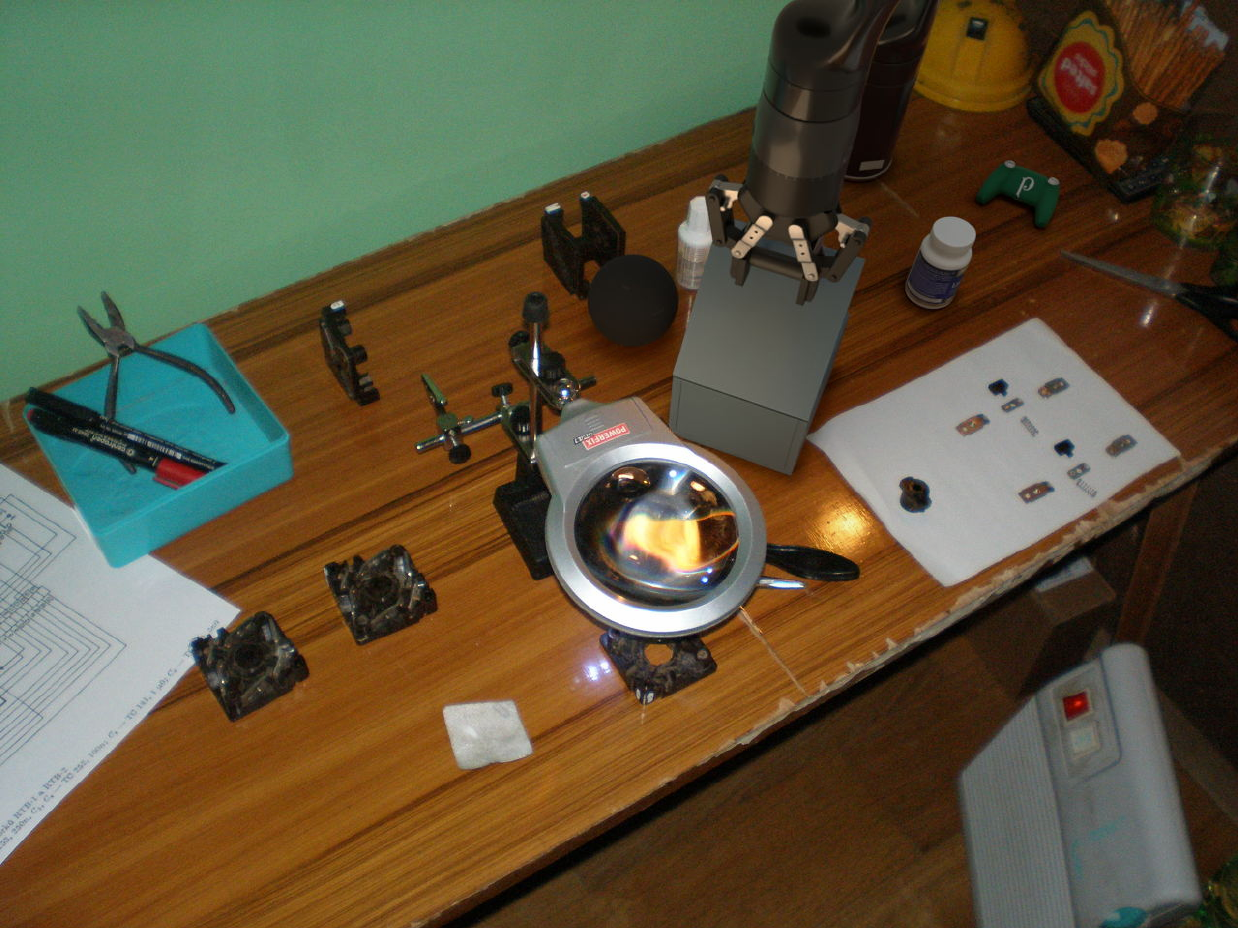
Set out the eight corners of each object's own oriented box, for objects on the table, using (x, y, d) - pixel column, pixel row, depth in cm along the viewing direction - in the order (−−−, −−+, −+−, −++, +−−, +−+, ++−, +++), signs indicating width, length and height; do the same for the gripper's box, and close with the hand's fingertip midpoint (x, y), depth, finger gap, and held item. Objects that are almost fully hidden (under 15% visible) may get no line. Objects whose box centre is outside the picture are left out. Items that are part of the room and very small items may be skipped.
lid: (721, 215, 91) (710, 216, 86) (865, 259, 88) (862, 263, 84) (674, 373, 96) (661, 383, 91) (809, 419, 93) (802, 431, 89)
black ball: (662, 374, 109) (667, 315, 100) (576, 352, 110) (574, 292, 102) (685, 308, 114) (692, 246, 105) (603, 288, 115) (603, 226, 107)
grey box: (714, 333, 112) (723, 273, 103) (831, 371, 109) (850, 313, 101) (667, 432, 105) (673, 377, 96) (791, 476, 102) (807, 423, 93)
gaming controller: (1043, 231, 123) (1068, 186, 122) (1044, 228, 120) (1070, 181, 118) (974, 203, 126) (998, 158, 124) (973, 199, 122) (997, 153, 121)
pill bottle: (952, 314, 114) (980, 254, 105) (902, 306, 114) (926, 245, 106) (953, 278, 117) (981, 216, 108) (905, 270, 117) (928, 208, 109)
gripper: (908, 133, 74) (860, 283, 89) (729, 84, 77) (711, 236, 91) (882, 200, 70) (836, 344, 85) (695, 146, 73) (682, 294, 88)
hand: (771, 288), depth 88 cm, fingers closed on lid, 5 cm apart
